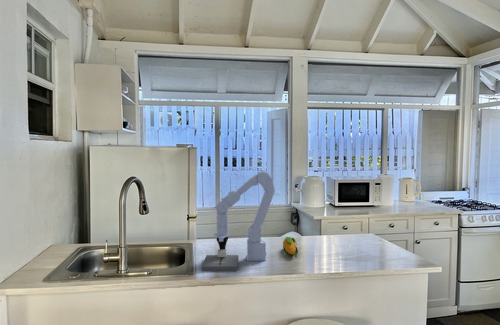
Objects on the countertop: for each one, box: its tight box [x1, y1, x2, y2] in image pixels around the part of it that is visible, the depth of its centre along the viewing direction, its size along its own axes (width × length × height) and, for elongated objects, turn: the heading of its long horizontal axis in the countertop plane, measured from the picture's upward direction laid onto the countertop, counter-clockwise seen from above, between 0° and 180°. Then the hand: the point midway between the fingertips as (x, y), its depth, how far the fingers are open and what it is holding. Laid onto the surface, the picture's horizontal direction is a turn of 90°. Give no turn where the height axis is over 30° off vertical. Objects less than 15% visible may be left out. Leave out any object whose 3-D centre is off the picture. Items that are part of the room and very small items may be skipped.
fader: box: [217, 248, 227, 257], centre depth 165 cm, size 4×2×3 cm, turn 89°
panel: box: [201, 254, 240, 272], centre depth 160 cm, size 16×16×2 cm
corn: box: [282, 236, 299, 256], centre depth 178 cm, size 7×8×20 cm
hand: (222, 251), depth 169 cm, fingers closed
